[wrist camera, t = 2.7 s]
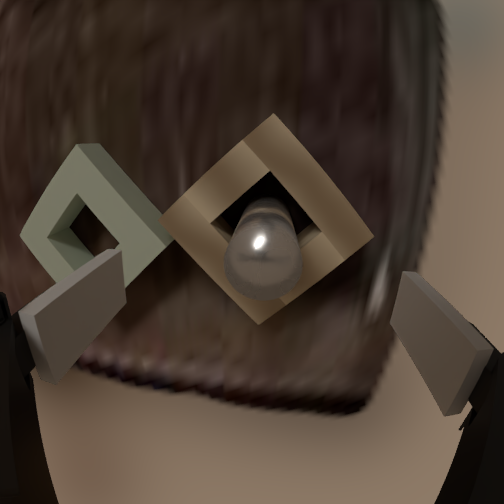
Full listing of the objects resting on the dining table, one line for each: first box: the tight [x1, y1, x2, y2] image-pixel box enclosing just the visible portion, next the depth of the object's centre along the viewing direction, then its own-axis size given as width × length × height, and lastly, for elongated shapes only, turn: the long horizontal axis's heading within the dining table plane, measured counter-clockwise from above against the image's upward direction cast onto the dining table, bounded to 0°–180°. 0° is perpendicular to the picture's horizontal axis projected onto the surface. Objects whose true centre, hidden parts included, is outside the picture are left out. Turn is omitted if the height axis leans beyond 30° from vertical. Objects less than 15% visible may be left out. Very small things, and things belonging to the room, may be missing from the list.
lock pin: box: [224, 194, 303, 301], centre depth 21 cm, size 4×4×12 cm
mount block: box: [158, 114, 374, 325], centre depth 25 cm, size 12×12×4 cm
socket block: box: [20, 144, 174, 288], centre depth 26 cm, size 12×12×4 cm
